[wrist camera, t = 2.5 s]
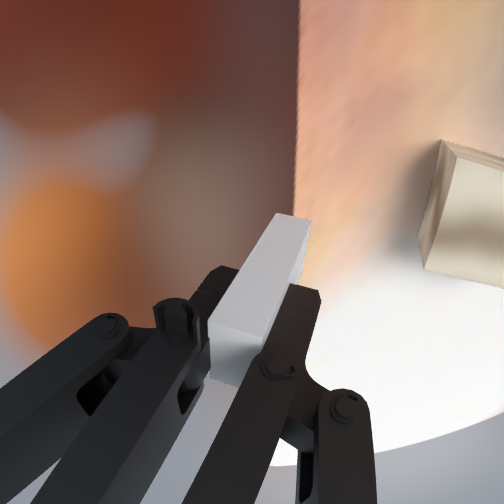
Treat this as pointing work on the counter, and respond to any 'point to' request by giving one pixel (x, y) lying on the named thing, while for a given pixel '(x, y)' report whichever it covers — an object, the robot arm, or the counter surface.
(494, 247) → the block
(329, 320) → the counter surface
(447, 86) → the counter surface
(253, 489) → the robot arm
